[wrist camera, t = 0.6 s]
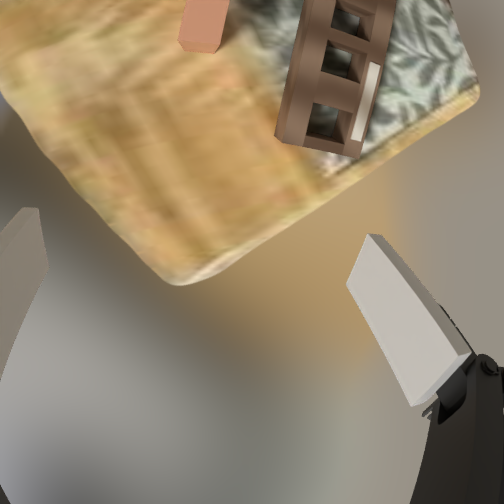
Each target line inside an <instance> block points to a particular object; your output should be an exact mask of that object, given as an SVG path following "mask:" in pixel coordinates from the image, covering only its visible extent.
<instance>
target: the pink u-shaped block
mask: <svg viewBox="0 0 504 504" xmlns="http://www.w3.org/2000/svg"><path fill="white" fill-rule="evenodd" d="M229 1H230V0H187V1H186V5H185V9H184V14H183V18H182V23H181V27H180V32H179V37H178V41H179V43H180V44H181V46H182V48H183V49H184V51H192V52H202V53H211V54H214V53H215V51H216V50H217V48H218V47H219V45H220V42H221V37H222V32H223V28H224V23H225V19H226V14H227V10H228V6H229Z"/></svg>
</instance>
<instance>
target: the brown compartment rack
mask: <svg viewBox="0 0 504 504" xmlns="http://www.w3.org/2000/svg"><path fill="white" fill-rule="evenodd" d="M395 6H396V0H304V3H303V7H302V12H301V16H300V21H299V25H298V30H297V34H296V39H295V43H294V48H293V52H292V57H291V61H290V66H289V70H288V75H287V80H286V84H285V89H284V93H283V98H282V102H281V107H280V111H279V116H278V121H277V125H276V130H275V134H274V136H275V137H276V138H277V139H278V140H280V141H281V142H282V143H286V144H291V145H297V146H302V147H307V148H312V149H317V150H322V151H326V152H331V153H335V154H340V155H344V156H348V157H352V158H357V159H359V157H360V153H361V150H362V146H363V143H364V139H365V136H366V132H367V129H368V125H369V121H370V118H371V114H372V110H373V106H374V103H375V99H376V95H377V91H378V87H379V82H380V78H381V74H382V70H383V65H384V61H385V57H386V52H387V47H388V43H389V38H390V33H391V28H392V22H393V17H394V12H395ZM334 8H337V9H339V10H342V11H345V12H347V13H350V14H352V15H355V16H357V17H360V21H359V26H358V30H357V35H356V36H353V35H350V34H348V33H345V32H342V31H340V30H337V29H334V28H331V22H332V17H333V13H334ZM326 45H328V46H331V47H334V48H337V49H340V50H343V51H346V52H348V53H351V54H352V58H351V62H350V66H349V71H348V75H347V79H345V78H342V77H338V76H335V75H332V74H329V73H325V72H322V71H321V67H322V63H323V58H324V54H325V49H326ZM313 102H314V103H318V104H322V105H326V106H329V107H333V108H337V109H339V112H338V116H337V120H336V124H335V128H334V131H333V135H332V137H329V136H325V135H320V134H316V133H311V132H307V127H308V123H309V118H310V114H311V110H312V106H313Z"/></svg>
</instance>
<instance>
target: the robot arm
mask: <svg viewBox="0 0 504 504" xmlns="http://www.w3.org/2000/svg"><path fill="white" fill-rule="evenodd" d="M48 269H49V264H48V259H47V255H46V250H45V245H44V240H43V234H42V229H41V223H40V217H39V210H38V208H22V209H21V210H20V211H19V212H18V213H17V214H16V216H14V218H13V219H12V220H11V221H10V222H9V223H8V225H6V227H5V228H4V229H3V230H2V231H1V233H0V380H1V376H2V374H3V371H4V368H5V365H6V362H7V360H8V357H9V354H10V352H11V349H12V346H13V344H14V341H15V339H16V336H17V334H18V332H19V329H20V327H21V325H22V322H23V320H24V318H25V316H26V313H27V311H28V309H29V307H30V305H31V303H32V301H33V298H34V296H35V294H36V292H37V290H38V288H39V286H40V284H41V282H42V281H43V279H44V277H45V275H46V273H47V271H48ZM346 285H347V287H348V289H349V291H350V292H351V294H352V296H353V298H354V299H355V301H356V303H357V305H358V307H359V308H360V310H361V312H362V313H363V315H364V317H365V319H366V320H367V323H368V324H369V326H370V328H371V330H372V331H373V333H374V335H375V337H376V339H377V341H378V343H379V345H380V347H381V349H382V350H383V352H384V354H385V356H386V358H387V360H388V362H389V364H390V366H391V368H392V370H393V371H394V373H395V376H396V378H397V379H398V382H399V384H400V385H401V388H402V390H403V391H404V394H405V396H406V398H407V400H408V402H409V404H410V406H411V407H412V406H415V405H418V404H421V403H424V402H426V401H427V400H428V399H429V398H430V397H431V396H432V395H433V394H434V393H435V392H436V393H437V395H438V399H436V400H435V401H434V402H433V403H432V404H431V405H430V406H429V407H428V408H427V409H426V410H425V411H424V412H423V414H422V417H424V416H425V415H427V414H428V413H429V412H430V411H432V413H431V414H430V415H429V416H428V417H427V418H428V419H429V420H431V422H430V427H429V432H428V437H427V442H426V447H425V451H424V455H423V459H422V463H421V467H420V471H419V475H418V478H417V482H416V485H415V489H414V492H413V495H412V498H411V501H410V504H504V414H503V408H504V367H498V365H497V363H496V362H495V361H494V360H493V359H492V358H491V357H489V356H488V355H485V354H479V355H478V356H477V355H476V354H475V352H474V351H473V349H472V348H471V346H470V345H469V343H468V342H467V341H466V339H465V338H464V336H463V335H462V333H461V332H460V331H459V329H458V328H457V327H455V324H454V322H453V321H452V319H450V317H449V315H448V314H447V313H446V311H445V310H444V309H443V307H442V306H440V305H439V304H438V303H437V302H436V301H435V299H434V298H433V297H432V295H431V294H430V293H429V292H428V290H427V289H426V288H425V286H424V285H423V284H422V283H421V282H420V280H419V279H418V278H417V276H416V275H415V274H414V273H413V271H412V270H411V269H410V268H409V267H408V265H407V264H406V263H405V262H404V261H403V259H402V258H401V257H400V256H399V255H398V254H397V252H395V250H394V249H393V248H392V246H391V245H390V244H389V243H388V242H387V241H386V240H385V238H384V237H383V236H381V235H377V234H367V236H366V239H365V241H364V243H363V246H362V248H361V251H360V253H359V255H358V258H357V260H356V263H355V265H354V267H353V269H352V272H351V274H350V277H349V279H348V281H347V283H346ZM0 504H10V502H9V500H8V499H7V497H6V495H5V493H4V491H3V489H2V487H1V485H0Z"/></svg>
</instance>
